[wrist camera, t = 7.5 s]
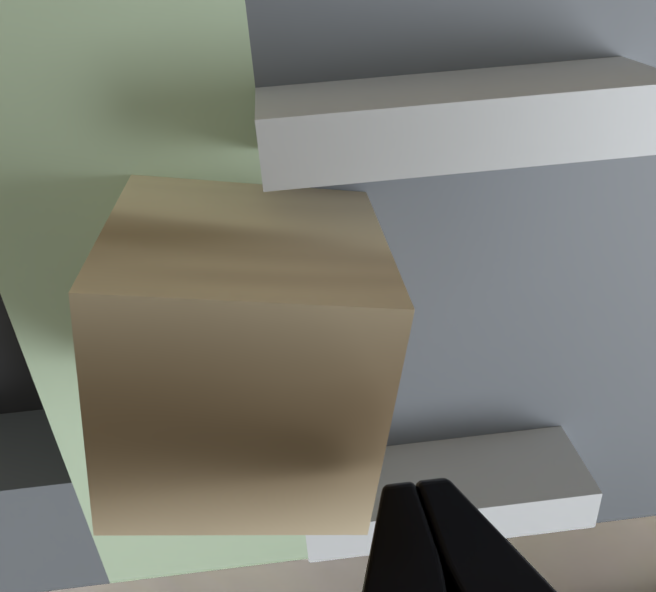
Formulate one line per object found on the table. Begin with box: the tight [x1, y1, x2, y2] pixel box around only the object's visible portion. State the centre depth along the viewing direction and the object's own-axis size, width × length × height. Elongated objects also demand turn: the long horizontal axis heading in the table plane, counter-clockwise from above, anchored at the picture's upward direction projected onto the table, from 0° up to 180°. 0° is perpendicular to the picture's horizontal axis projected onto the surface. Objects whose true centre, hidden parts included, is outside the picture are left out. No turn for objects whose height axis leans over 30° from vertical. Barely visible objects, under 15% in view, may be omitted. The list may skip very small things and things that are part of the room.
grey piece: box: [0, 0, 656, 592], centre depth 13 cm, size 14×24×5 cm, turn 94°
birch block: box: [68, 175, 415, 536], centre depth 10 cm, size 4×4×4 cm
